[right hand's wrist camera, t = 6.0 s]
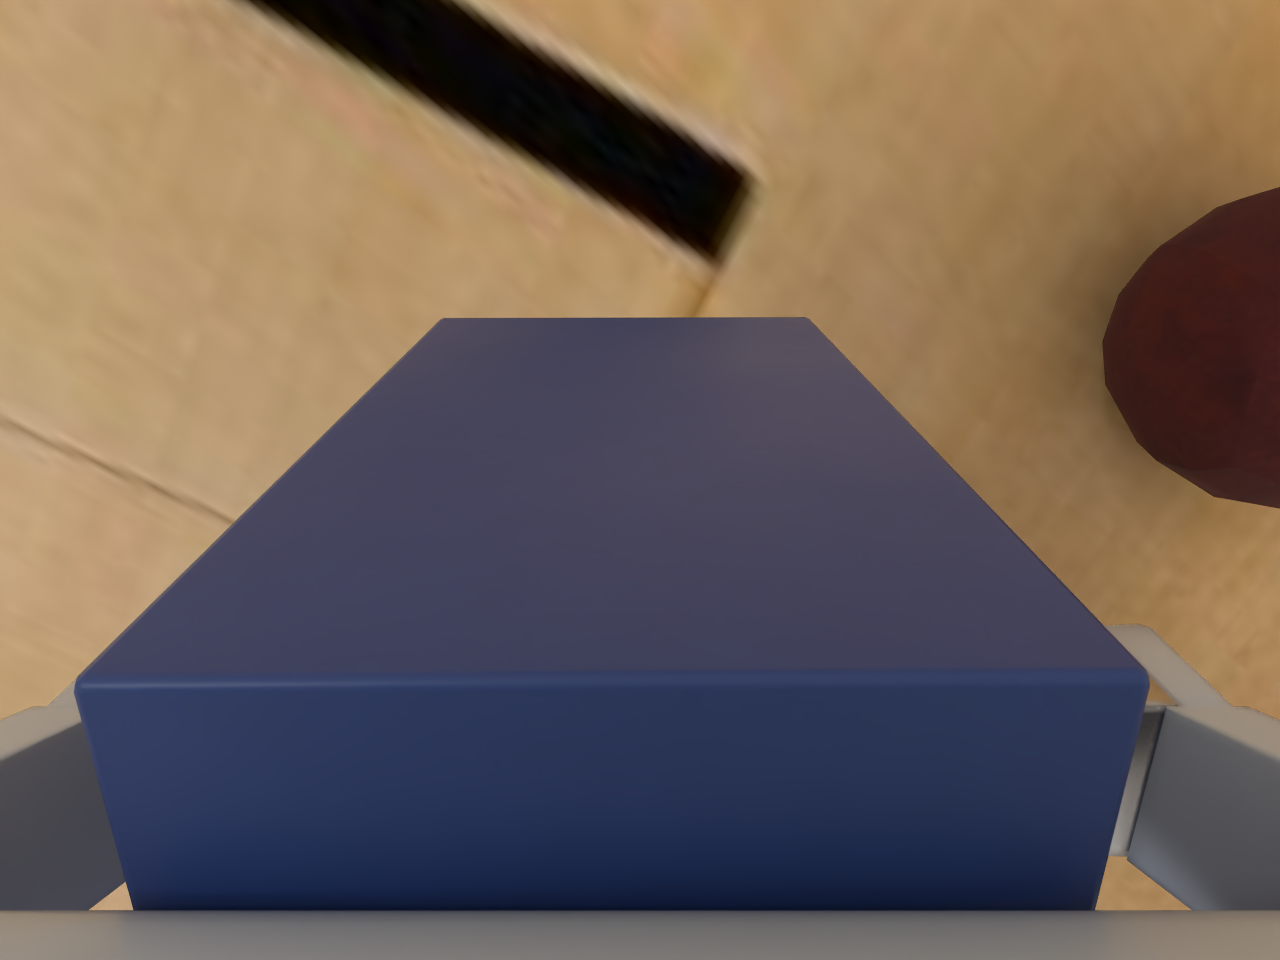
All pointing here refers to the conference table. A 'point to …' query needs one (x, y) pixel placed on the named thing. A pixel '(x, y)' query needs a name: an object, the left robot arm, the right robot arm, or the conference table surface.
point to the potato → (1206, 352)
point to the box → (616, 653)
